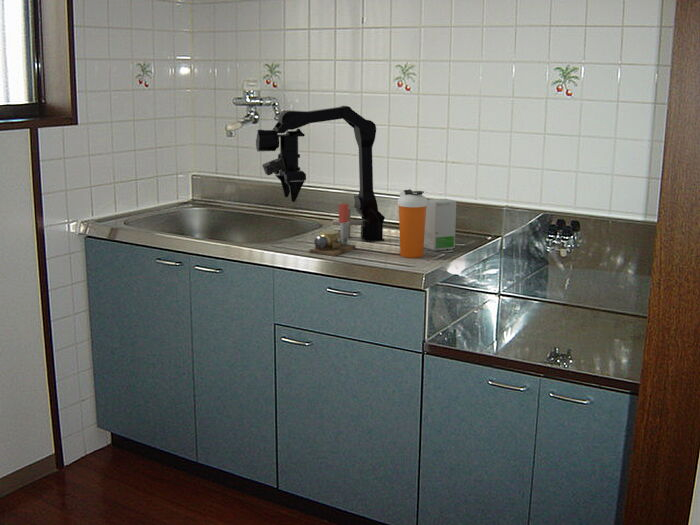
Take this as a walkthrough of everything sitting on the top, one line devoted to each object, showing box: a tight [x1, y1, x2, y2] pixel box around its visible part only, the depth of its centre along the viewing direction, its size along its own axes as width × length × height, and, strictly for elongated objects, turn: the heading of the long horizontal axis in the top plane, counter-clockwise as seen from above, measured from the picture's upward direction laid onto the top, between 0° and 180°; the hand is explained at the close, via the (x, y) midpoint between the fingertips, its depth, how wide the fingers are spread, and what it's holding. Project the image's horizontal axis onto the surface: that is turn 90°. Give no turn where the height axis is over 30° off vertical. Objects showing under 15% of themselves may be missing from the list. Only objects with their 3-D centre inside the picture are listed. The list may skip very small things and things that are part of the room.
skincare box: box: [424, 198, 457, 251], centre depth 267 cm, size 8×7×16 cm
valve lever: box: [338, 202, 349, 246], centre depth 261 cm, size 3×2×13 cm, turn 150°
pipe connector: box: [332, 207, 363, 239], centre depth 284 cm, size 10×10×10 cm
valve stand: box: [308, 229, 356, 257], centre depth 264 cm, size 13×9×6 cm
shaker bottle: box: [397, 188, 427, 259], centre depth 256 cm, size 9×9×20 cm
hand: (289, 199), depth 271 cm, fingers open, 9 cm apart
